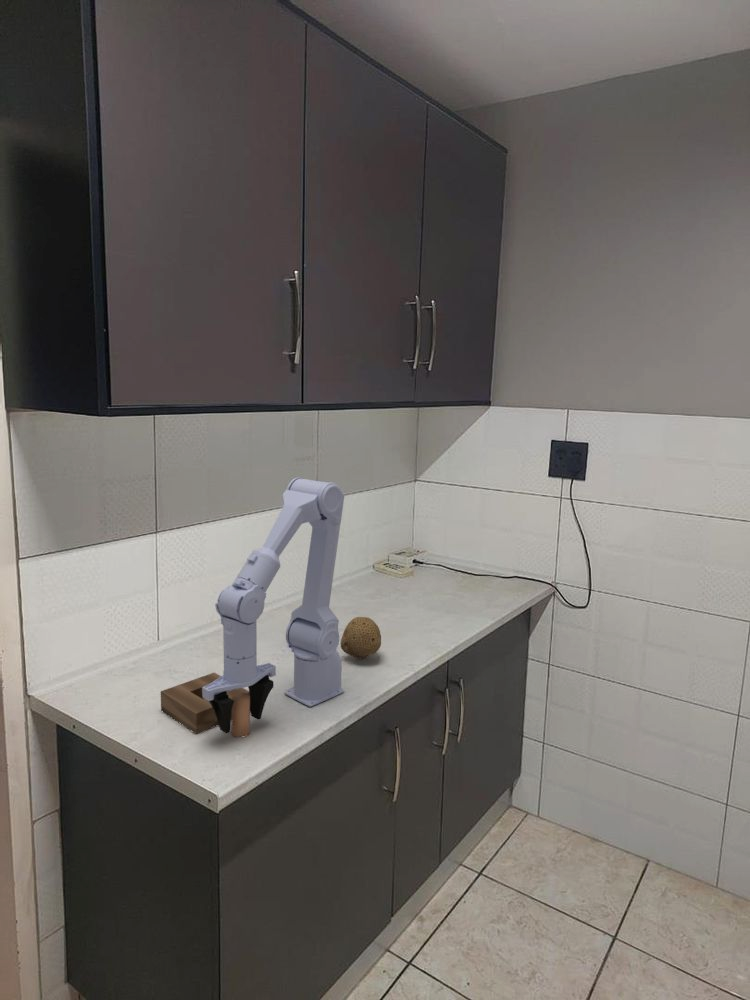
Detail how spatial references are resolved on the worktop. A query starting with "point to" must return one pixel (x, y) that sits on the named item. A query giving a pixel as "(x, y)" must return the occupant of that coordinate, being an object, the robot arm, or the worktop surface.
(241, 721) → the terracotta peg
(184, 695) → the walnut socket block
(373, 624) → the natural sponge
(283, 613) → the worktop surface
